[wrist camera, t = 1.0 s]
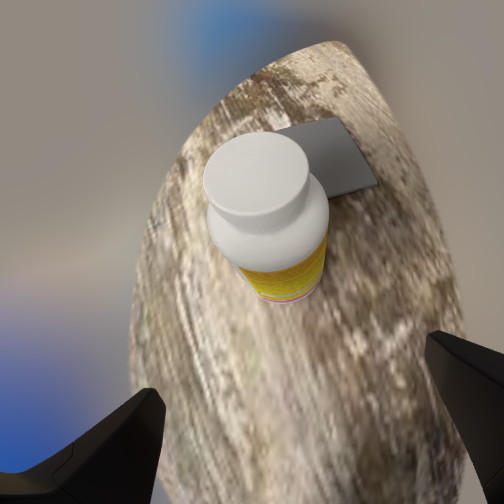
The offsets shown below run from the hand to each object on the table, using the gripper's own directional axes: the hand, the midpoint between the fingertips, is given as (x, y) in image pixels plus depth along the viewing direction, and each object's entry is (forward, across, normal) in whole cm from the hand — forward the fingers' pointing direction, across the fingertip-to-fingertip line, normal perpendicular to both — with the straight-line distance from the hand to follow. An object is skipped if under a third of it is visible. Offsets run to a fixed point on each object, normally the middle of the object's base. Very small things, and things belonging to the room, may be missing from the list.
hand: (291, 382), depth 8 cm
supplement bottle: (+16, 0, +2) cm, 16 cm away
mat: (+22, -4, -6) cm, 23 cm away
